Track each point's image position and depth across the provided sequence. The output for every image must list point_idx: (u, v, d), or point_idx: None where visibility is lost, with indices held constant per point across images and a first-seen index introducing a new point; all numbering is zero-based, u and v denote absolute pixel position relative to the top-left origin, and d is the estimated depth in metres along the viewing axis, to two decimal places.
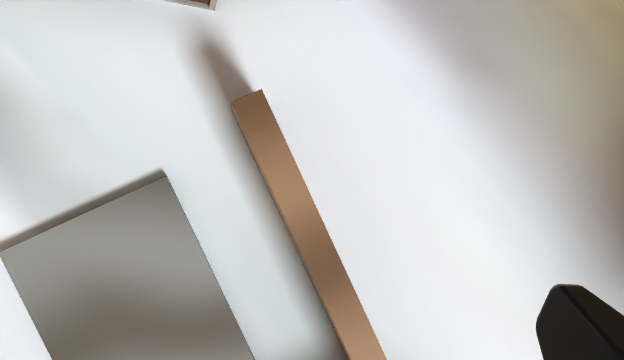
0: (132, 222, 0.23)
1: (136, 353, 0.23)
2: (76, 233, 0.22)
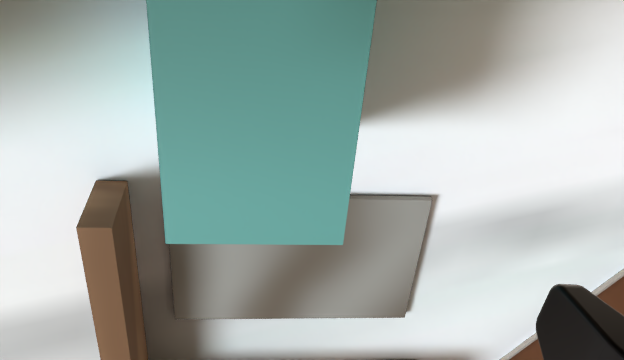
0: (388, 288, 0.27)
1: (288, 254, 0.25)
2: (407, 253, 0.26)
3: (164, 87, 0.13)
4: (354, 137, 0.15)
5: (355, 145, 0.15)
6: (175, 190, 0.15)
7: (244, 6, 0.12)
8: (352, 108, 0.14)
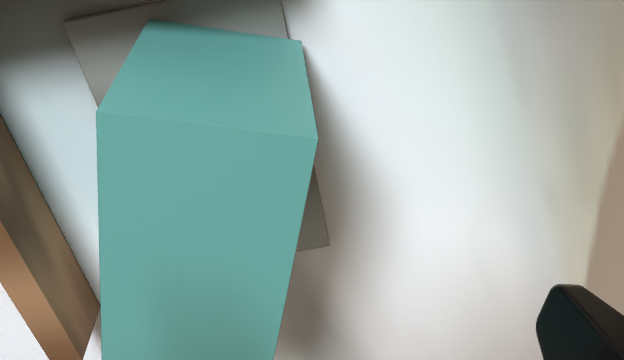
0: None
1: None
2: None
3: (110, 261, 0.15)
4: (281, 307, 0.16)
5: (281, 313, 0.16)
6: (114, 340, 0.16)
7: (186, 205, 0.14)
8: (279, 286, 0.16)
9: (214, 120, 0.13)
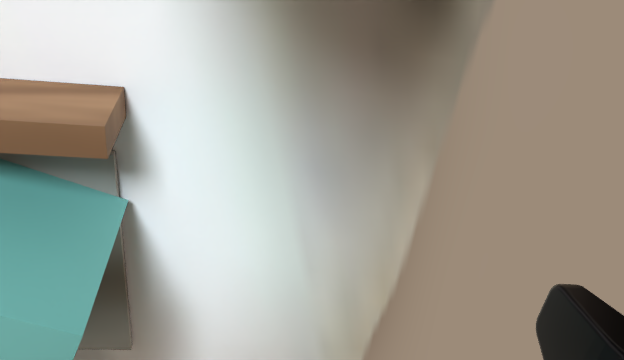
0: None
1: None
2: None
3: None
4: None
5: None
6: None
7: None
8: None
9: None
